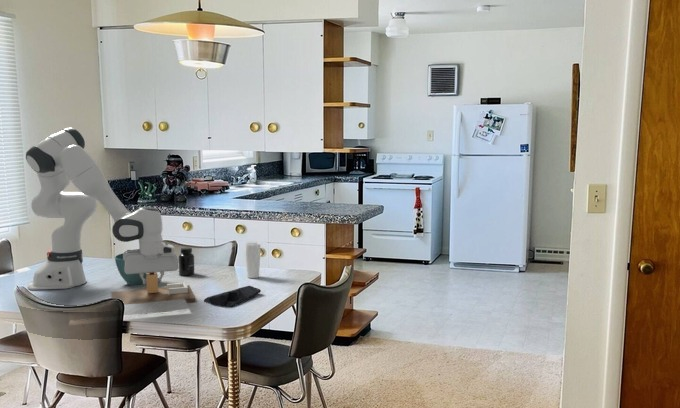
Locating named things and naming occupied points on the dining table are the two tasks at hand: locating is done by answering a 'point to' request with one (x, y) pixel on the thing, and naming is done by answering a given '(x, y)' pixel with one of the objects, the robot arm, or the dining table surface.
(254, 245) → the drinking glass
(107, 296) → the dining table surface
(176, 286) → the plug holder
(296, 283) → the dining table surface
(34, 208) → the robot arm
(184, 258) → the supplement bottle
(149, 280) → the tan block with tip
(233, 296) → the dark slate chunk
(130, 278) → the teal bowl
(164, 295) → the board
